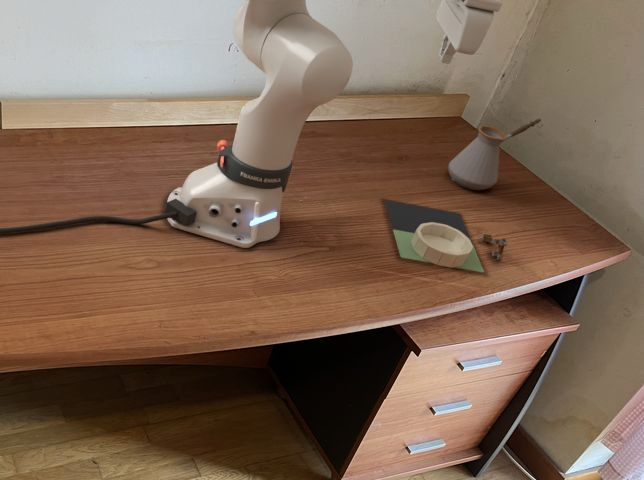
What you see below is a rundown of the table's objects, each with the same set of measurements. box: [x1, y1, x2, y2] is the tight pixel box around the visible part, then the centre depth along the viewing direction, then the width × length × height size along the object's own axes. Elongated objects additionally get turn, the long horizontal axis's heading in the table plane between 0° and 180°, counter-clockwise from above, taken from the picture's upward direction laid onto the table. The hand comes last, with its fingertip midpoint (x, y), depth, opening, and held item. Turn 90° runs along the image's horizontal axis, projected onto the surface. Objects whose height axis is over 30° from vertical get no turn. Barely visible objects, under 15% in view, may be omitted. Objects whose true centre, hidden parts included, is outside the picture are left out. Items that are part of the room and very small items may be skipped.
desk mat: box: [384, 199, 485, 273], centre depth 148 cm, size 17×22×1 cm
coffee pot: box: [448, 118, 544, 191], centre depth 166 cm, size 21×12×15 cm, turn 119°
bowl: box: [411, 222, 474, 269], centre depth 142 cm, size 11×11×3 cm
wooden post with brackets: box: [481, 233, 508, 262], centre depth 146 cm, size 2×8×4 cm, turn 1°
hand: (443, 60), depth 140 cm, fingers closed
